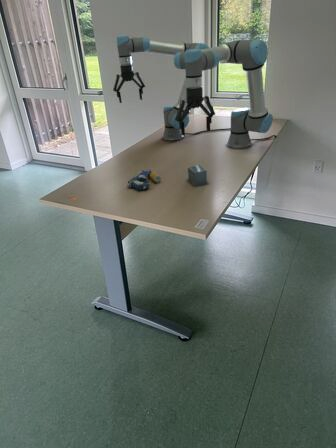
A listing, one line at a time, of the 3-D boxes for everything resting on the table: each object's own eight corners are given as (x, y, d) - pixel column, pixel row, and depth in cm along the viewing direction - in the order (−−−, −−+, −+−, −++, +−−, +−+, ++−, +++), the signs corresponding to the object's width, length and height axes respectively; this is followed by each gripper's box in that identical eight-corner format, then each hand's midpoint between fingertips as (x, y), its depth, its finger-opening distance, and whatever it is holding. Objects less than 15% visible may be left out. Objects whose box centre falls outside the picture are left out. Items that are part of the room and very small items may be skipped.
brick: (195, 186, 174) (194, 173, 170) (188, 180, 182) (187, 167, 178) (206, 183, 176) (206, 170, 172) (199, 177, 183) (199, 164, 179)
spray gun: (166, 176, 187) (143, 174, 193) (165, 169, 185) (142, 167, 191) (148, 193, 172) (124, 189, 178) (147, 185, 170) (123, 182, 176)
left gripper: (107, 67, 197) (113, 104, 208) (147, 62, 203) (151, 99, 214) (104, 66, 203) (110, 102, 214) (144, 61, 209) (147, 97, 220)
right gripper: (171, 91, 148) (175, 139, 159) (222, 84, 154) (222, 130, 165) (166, 89, 154) (169, 135, 165) (214, 82, 160) (215, 126, 171)
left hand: (130, 101), depth 214 cm, fingers open, 13 cm apart
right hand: (195, 132), depth 165 cm, fingers open, 13 cm apart
